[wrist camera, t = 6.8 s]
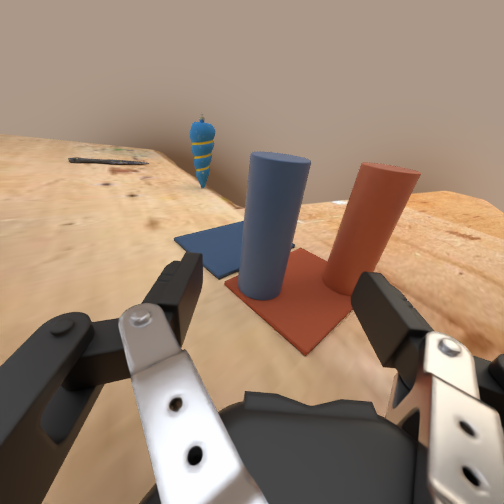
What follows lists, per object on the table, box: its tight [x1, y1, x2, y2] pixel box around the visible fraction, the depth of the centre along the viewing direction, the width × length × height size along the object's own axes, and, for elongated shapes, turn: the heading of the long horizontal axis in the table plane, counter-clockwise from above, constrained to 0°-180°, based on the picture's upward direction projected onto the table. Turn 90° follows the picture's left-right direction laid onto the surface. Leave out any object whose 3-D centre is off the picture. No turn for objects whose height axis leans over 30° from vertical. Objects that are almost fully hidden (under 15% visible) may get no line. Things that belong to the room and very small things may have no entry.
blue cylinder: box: [238, 152, 311, 300], centre depth 19 cm, size 4×4×12 cm
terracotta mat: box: [225, 248, 353, 356], centre depth 23 cm, size 10×13×1 cm
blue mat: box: [174, 221, 295, 279], centre depth 29 cm, size 10×13×1 cm
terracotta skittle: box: [323, 162, 421, 296], centre depth 21 cm, size 4×4×12 cm
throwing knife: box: [68, 158, 149, 164], centre depth 63 cm, size 4×20×1 cm, turn 113°
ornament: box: [190, 117, 215, 188], centre depth 47 cm, size 5×5×15 cm
